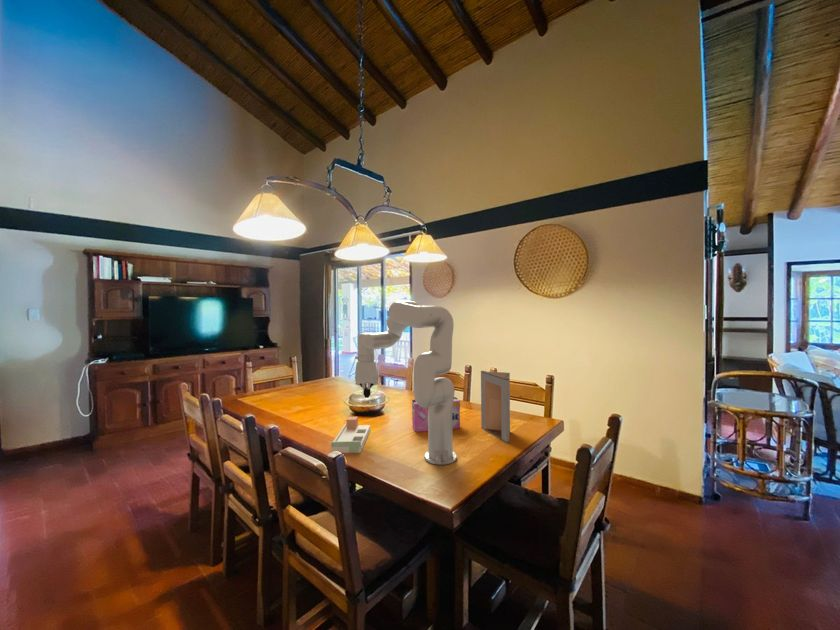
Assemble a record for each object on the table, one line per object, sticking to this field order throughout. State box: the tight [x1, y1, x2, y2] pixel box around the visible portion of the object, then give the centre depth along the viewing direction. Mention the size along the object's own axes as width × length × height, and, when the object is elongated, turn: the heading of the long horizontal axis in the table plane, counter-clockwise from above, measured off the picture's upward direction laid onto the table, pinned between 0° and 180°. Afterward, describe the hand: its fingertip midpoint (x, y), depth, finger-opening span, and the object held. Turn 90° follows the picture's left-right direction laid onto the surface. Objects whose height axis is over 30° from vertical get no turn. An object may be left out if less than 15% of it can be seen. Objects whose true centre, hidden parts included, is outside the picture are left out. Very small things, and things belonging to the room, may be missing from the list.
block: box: [345, 416, 359, 429], centre depth 166 cm, size 4×4×4 cm
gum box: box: [411, 396, 461, 433], centre depth 172 cm, size 24×8×14 cm, turn 101°
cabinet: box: [480, 370, 511, 444], centre depth 162 cm, size 21×10×28 cm, turn 21°
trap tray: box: [330, 422, 371, 454], centre depth 156 cm, size 26×12×4 cm, turn 0°
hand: (367, 397), depth 166 cm, fingers closed
